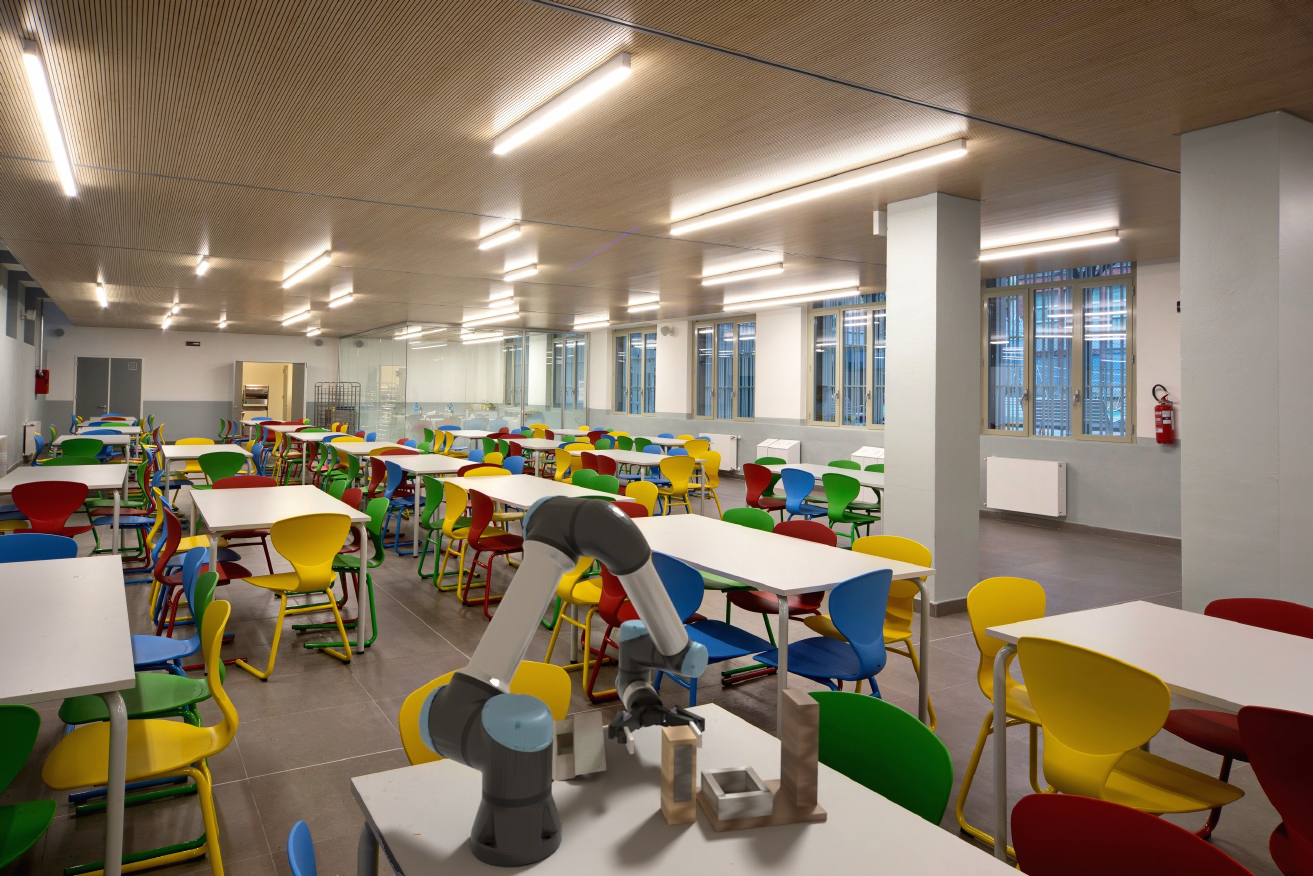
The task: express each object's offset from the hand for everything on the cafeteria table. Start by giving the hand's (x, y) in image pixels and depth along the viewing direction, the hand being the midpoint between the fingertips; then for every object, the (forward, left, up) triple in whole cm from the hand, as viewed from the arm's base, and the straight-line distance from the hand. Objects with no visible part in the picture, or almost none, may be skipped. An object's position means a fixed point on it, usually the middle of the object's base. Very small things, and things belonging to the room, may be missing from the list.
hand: (666, 744), depth 147 cm
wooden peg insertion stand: (+15, -9, -9) cm, 20 cm away
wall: (-18, +14, -9) cm, 24 cm away
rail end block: (0, -9, -9) cm, 13 cm away
